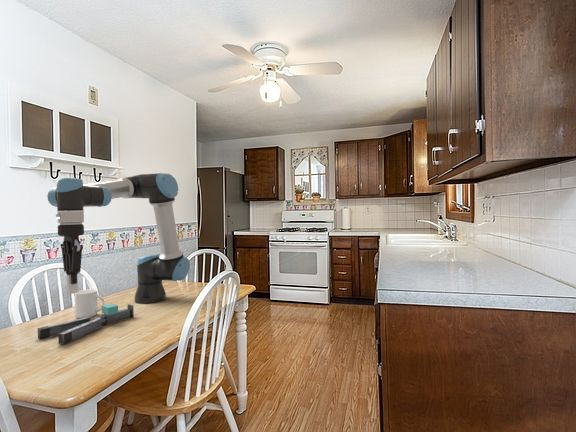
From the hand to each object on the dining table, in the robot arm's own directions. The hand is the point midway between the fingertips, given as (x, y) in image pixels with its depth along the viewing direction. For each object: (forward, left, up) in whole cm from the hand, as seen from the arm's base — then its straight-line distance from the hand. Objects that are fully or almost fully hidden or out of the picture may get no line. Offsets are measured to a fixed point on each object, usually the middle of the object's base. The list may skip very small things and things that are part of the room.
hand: (72, 293), depth 116 cm
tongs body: (-12, -17, -18) cm, 27 cm away
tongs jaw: (-6, -9, -18) cm, 21 cm away
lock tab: (-19, -16, -14) cm, 29 cm away
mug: (-18, -33, -19) cm, 42 cm away
